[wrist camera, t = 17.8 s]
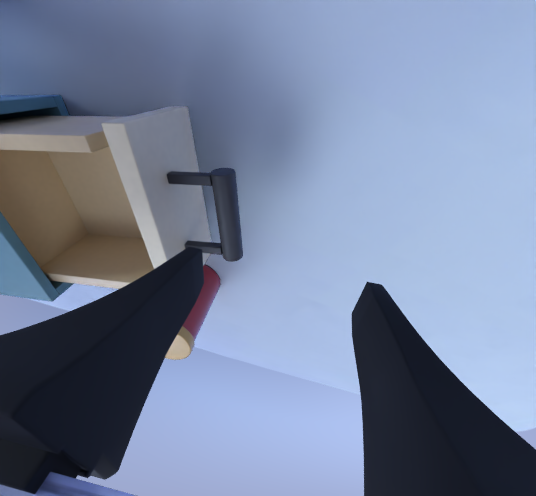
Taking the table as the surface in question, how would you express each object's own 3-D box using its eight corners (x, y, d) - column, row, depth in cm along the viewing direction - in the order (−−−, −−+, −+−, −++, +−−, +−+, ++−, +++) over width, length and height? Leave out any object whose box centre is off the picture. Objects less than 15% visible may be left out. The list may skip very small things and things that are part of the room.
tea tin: (173, 278, 28) (128, 340, 21) (191, 253, 25) (146, 316, 19) (209, 300, 29) (177, 366, 22) (229, 278, 26) (200, 346, 20)
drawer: (248, 106, 16) (211, 123, 10) (256, 254, 22) (236, 311, 17) (29, 105, 18) (-93, 119, 13) (95, 239, 25) (34, 285, 20)
